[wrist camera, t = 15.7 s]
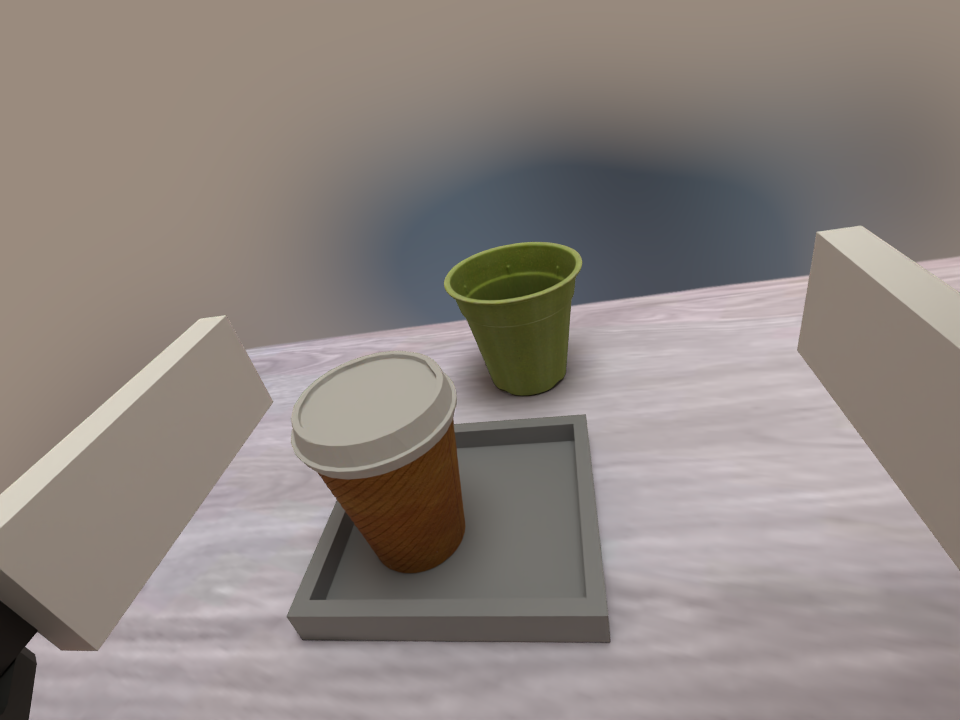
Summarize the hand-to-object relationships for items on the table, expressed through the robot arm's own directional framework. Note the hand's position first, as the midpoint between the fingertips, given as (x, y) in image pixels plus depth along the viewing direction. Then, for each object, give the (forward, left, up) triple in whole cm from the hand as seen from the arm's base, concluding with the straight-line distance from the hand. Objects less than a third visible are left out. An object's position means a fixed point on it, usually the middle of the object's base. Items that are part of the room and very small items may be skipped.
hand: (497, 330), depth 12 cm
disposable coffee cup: (+10, -12, -22) cm, 26 cm away
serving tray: (+7, -13, -22) cm, 27 cm away
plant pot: (+3, -30, -23) cm, 38 cm away
